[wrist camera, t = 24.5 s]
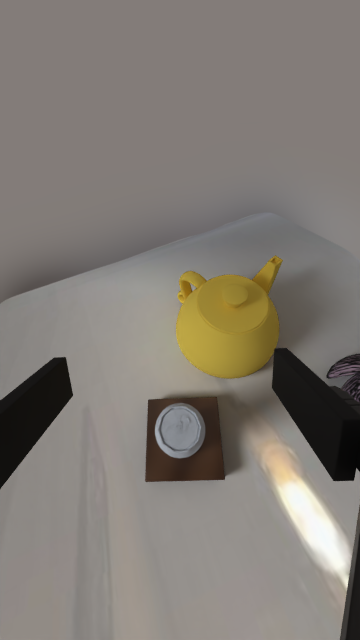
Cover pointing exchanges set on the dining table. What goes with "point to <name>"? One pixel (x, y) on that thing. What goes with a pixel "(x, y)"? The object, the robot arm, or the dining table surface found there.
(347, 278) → the dining table surface
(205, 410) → the flat wooden board
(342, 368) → the decorative flower
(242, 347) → the teapot
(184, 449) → the beer can
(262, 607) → the dining table surface
